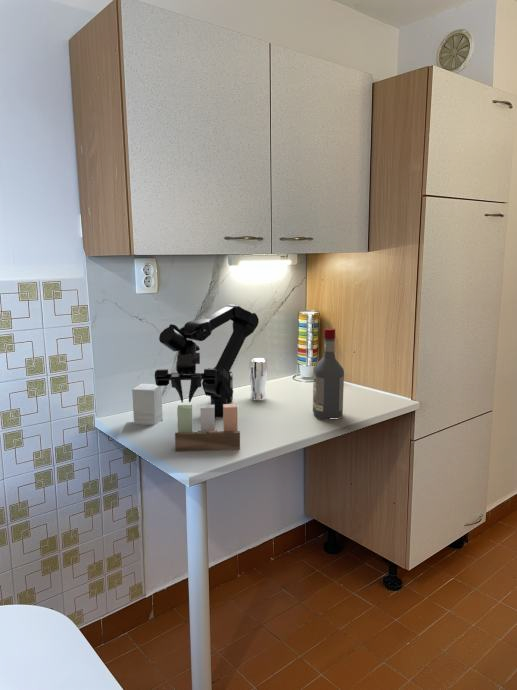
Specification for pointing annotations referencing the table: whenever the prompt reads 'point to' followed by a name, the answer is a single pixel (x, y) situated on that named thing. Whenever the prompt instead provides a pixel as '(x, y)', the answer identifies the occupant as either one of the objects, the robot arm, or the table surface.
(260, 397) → the beer glass
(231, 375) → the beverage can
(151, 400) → the supplement box
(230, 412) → the salmon brown block
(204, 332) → the robot arm
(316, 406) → the liquor
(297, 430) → the table surface
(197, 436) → the keypad base
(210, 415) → the light grey tall block
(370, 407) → the table surface
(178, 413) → the sage key
